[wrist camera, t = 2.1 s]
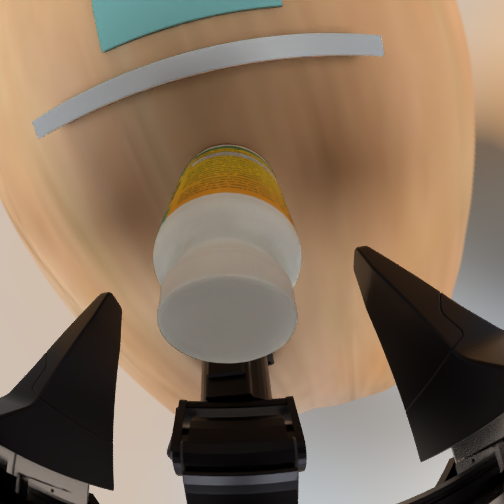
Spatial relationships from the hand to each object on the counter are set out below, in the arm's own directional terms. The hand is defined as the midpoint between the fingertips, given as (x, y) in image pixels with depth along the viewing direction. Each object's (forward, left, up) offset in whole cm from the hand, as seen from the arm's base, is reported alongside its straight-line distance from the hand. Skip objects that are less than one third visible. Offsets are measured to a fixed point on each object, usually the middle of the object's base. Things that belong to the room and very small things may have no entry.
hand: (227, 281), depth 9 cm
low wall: (+7, 0, -7) cm, 10 cm away
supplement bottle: (0, 0, -8) cm, 8 cm away
